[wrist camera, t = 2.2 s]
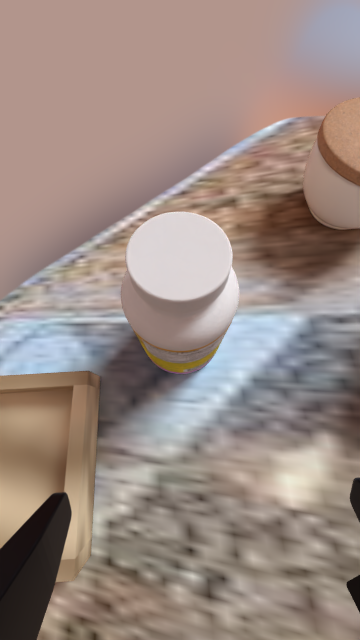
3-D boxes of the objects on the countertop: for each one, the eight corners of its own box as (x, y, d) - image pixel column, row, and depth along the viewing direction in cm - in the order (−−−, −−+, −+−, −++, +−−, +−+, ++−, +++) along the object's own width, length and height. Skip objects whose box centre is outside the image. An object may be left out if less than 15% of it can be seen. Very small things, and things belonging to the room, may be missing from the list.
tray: (90, 555, 18) (73, 581, 15) (-88, 567, 17) (-140, 595, 15) (100, 377, 22) (88, 370, 19) (-43, 385, 22) (-76, 380, 19)
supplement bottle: (157, 296, 25) (135, 180, 13) (225, 315, 24) (269, 210, 12) (132, 363, 22) (75, 298, 10) (206, 386, 22) (238, 345, 10)
